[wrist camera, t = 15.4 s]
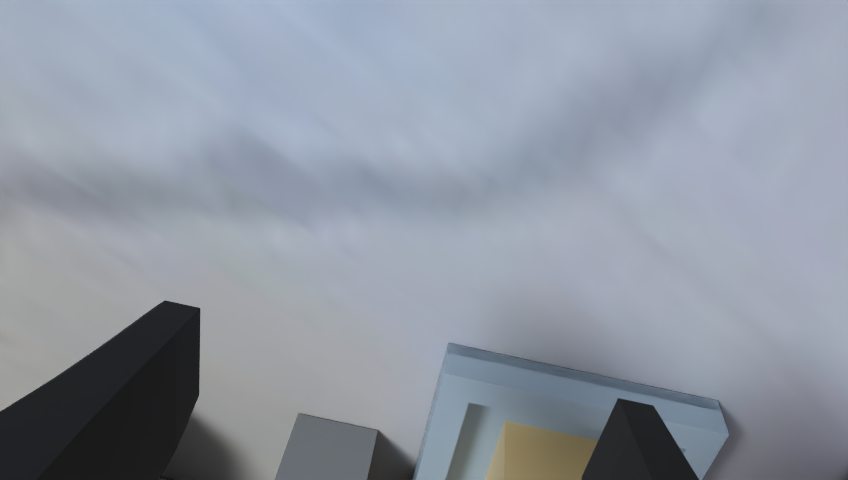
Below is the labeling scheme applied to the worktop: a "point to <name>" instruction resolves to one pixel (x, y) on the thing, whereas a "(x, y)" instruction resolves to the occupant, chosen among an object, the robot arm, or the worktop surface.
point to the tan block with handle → (539, 454)
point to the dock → (326, 451)
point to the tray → (544, 411)
